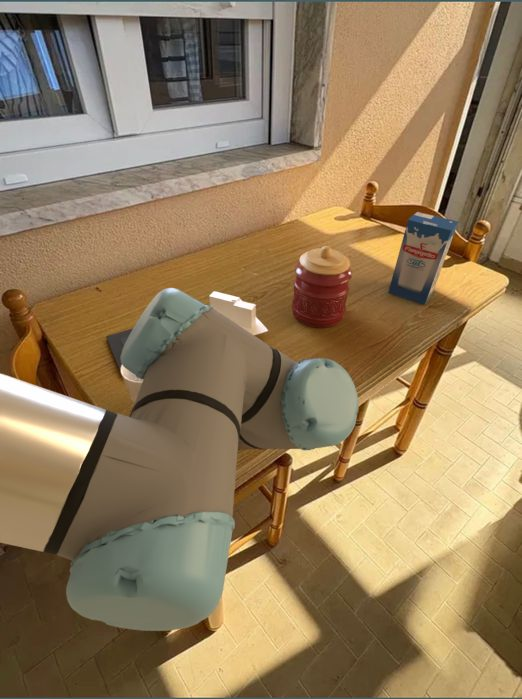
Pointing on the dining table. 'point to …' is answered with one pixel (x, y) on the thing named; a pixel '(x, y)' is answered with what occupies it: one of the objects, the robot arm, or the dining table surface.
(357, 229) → the dining table surface
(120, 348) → the rubber pad
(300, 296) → the kitchen canister
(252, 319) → the napkin holder
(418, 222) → the milk carton
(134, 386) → the white cup
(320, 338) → the dining table surface
